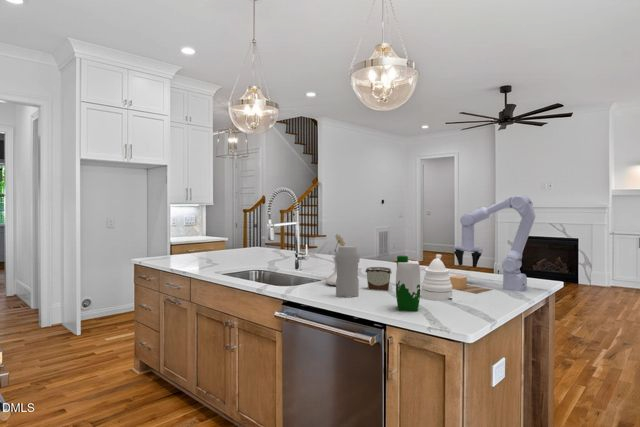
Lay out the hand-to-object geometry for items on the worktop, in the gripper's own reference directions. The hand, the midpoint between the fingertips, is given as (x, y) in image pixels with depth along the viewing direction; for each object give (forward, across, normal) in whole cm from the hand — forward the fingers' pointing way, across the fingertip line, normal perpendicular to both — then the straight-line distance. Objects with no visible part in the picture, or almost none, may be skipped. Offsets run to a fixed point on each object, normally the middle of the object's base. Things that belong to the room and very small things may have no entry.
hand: (467, 266), depth 197 cm
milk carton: (+10, +11, -58) cm, 60 cm away
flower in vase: (+10, -40, -50) cm, 65 cm away
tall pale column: (+10, -18, -63) cm, 66 cm away
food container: (+10, -20, -41) cm, 47 cm away
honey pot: (+10, +6, -33) cm, 35 cm away
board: (+9, +8, -12) cm, 17 cm away
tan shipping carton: (+8, +4, -14) cm, 17 cm away
